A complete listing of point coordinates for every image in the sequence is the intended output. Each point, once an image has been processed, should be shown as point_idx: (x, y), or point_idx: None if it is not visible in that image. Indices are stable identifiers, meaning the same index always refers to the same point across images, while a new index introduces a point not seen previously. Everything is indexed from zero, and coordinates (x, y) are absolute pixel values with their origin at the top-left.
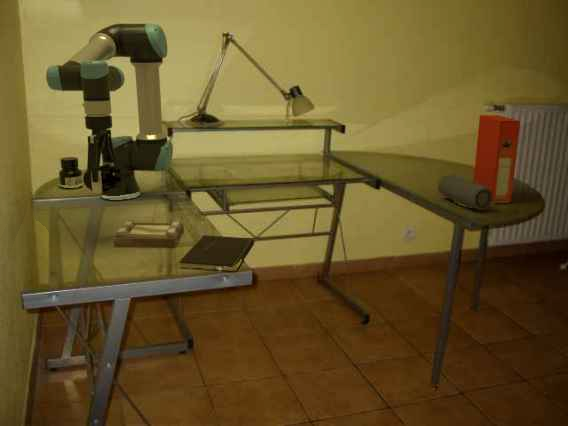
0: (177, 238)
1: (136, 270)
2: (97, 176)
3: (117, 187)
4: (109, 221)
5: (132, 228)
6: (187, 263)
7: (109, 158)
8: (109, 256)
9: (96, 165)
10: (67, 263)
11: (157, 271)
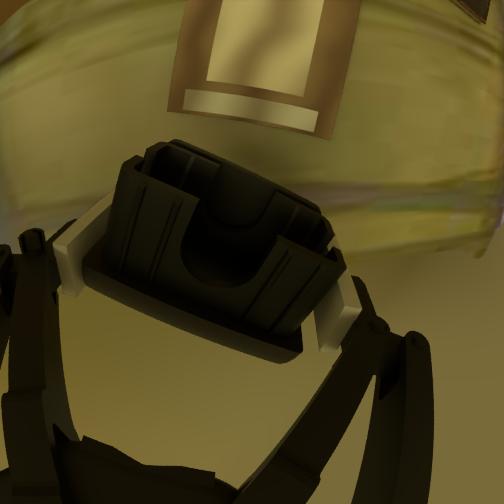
0: None
1: (478, 103)
2: (359, 298)
3: (215, 155)
4: (102, 175)
5: (234, 88)
6: (487, 12)
7: (48, 284)
8: (394, 149)
9: (417, 357)
10: (405, 235)
11: (488, 67)
